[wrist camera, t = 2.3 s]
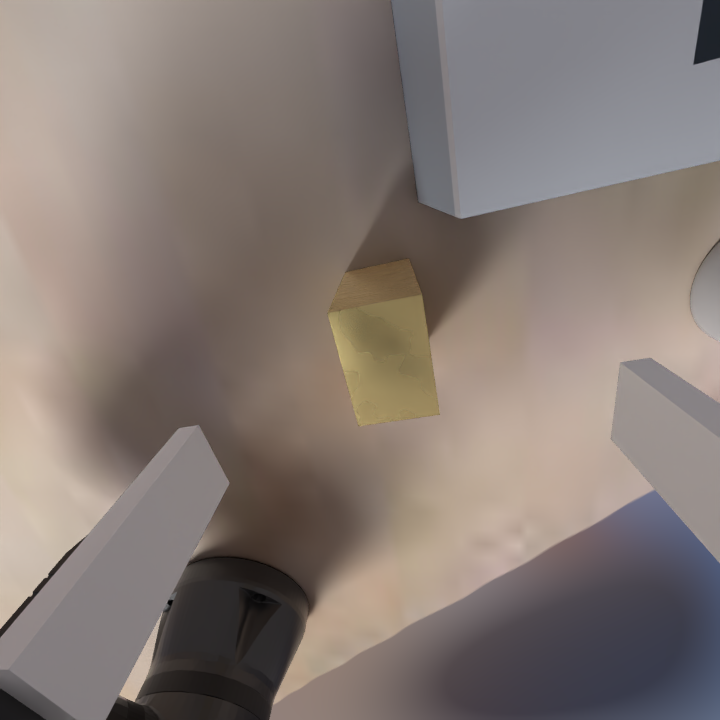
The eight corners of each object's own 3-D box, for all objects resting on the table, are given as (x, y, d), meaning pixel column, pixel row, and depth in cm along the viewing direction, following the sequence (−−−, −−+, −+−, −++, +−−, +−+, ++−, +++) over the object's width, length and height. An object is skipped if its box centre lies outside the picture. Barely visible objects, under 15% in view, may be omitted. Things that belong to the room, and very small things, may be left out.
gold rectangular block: (365, 356, 24) (358, 426, 17) (345, 272, 22) (327, 313, 15) (422, 346, 24) (439, 414, 16) (408, 258, 21) (422, 294, 14)
